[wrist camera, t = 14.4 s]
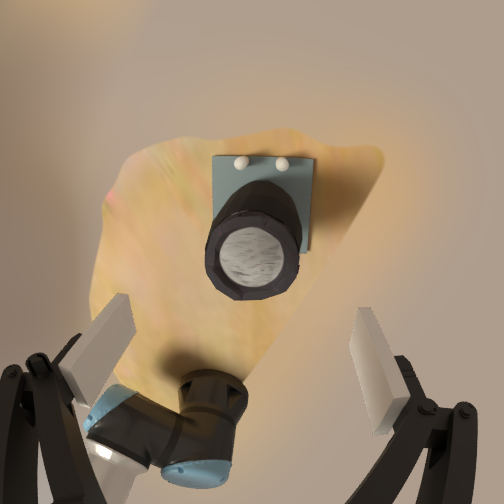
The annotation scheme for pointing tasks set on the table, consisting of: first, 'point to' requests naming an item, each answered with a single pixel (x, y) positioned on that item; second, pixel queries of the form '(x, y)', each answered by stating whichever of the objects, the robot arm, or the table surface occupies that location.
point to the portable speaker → (254, 243)
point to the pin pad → (266, 169)
